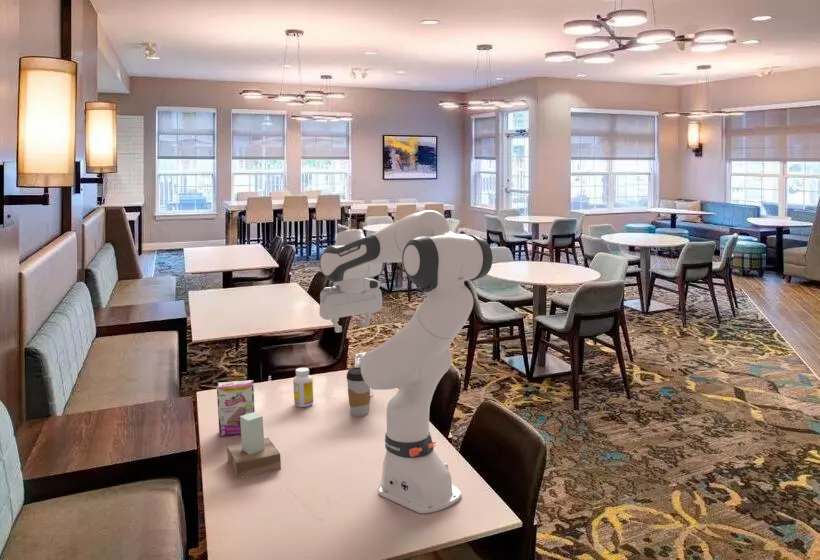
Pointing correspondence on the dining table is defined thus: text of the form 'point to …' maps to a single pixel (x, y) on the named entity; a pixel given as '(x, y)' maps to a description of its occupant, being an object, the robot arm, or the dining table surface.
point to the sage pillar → (252, 433)
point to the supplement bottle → (303, 388)
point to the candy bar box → (234, 405)
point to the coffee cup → (358, 392)
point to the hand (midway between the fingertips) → (352, 329)
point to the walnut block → (253, 460)
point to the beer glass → (358, 364)
